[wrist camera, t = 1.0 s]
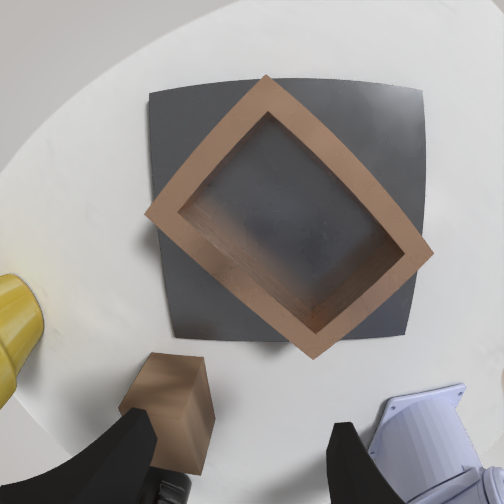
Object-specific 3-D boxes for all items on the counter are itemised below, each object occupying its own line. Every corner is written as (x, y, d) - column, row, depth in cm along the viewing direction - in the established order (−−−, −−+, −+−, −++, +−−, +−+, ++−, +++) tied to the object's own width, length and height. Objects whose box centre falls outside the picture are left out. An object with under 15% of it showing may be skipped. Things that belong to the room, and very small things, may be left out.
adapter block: (203, 356, 19) (180, 420, 14) (215, 418, 21) (201, 475, 16) (151, 351, 20) (118, 408, 14) (170, 413, 22) (149, 465, 16)
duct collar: (401, 330, 17) (417, 357, 14) (178, 332, 19) (163, 360, 16) (417, 92, 13) (443, 81, 10) (153, 95, 14) (128, 84, 11)
